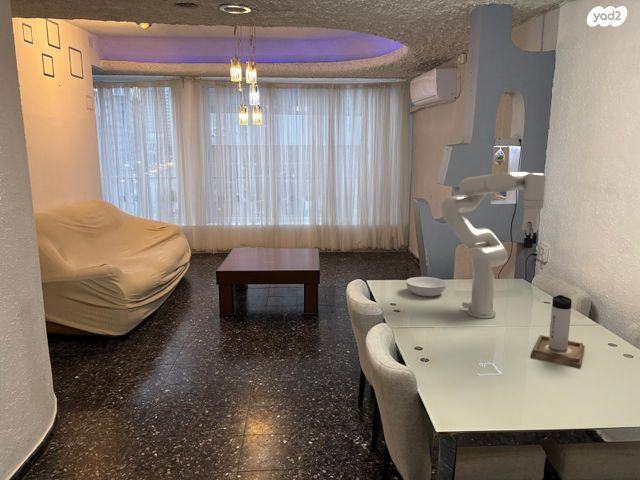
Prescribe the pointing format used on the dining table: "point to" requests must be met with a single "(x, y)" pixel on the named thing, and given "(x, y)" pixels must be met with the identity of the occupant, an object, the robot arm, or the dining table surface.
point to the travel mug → (560, 323)
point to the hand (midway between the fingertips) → (529, 245)
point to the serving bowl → (426, 286)
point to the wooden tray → (568, 358)
